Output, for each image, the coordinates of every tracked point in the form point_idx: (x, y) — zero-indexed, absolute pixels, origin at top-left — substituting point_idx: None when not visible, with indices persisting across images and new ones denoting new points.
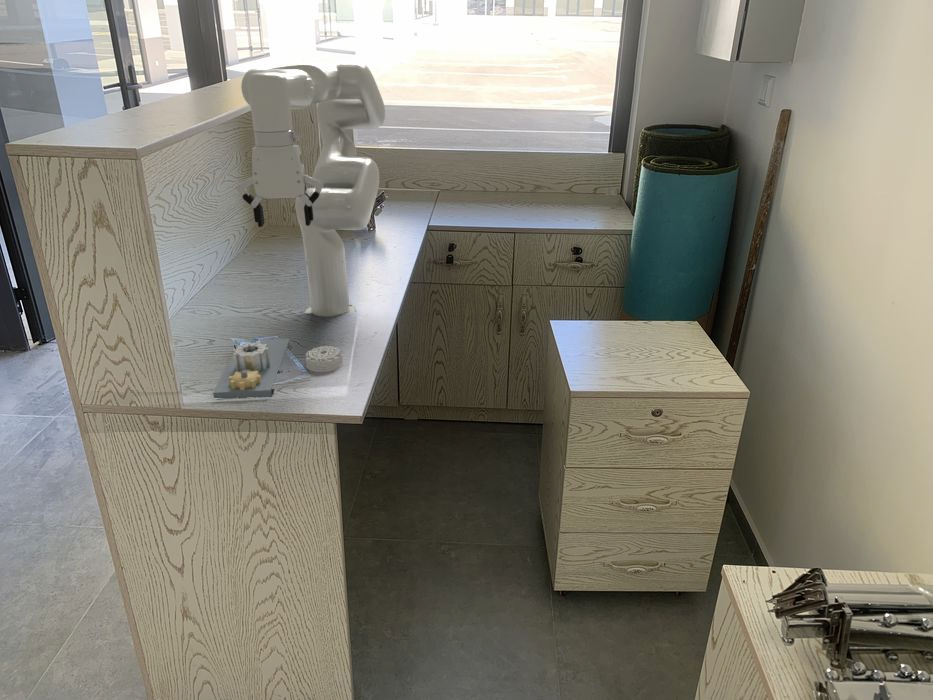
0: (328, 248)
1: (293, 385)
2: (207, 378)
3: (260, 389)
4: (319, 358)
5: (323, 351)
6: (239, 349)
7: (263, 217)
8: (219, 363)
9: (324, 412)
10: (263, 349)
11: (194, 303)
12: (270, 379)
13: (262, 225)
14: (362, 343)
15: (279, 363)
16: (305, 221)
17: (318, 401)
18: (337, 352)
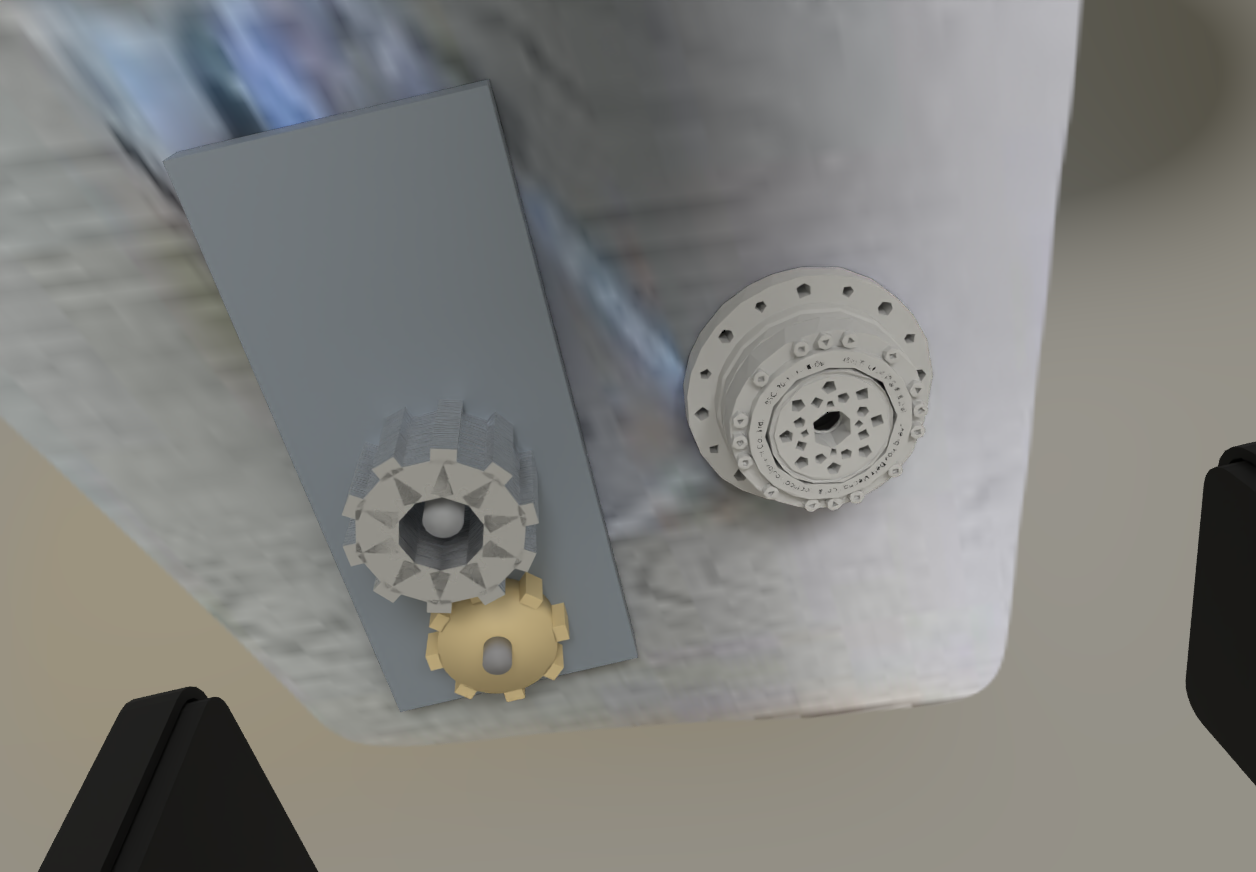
0: None
1: (692, 539)
2: (247, 539)
3: (591, 660)
4: (825, 496)
5: (824, 410)
6: (380, 547)
7: (183, 822)
8: (196, 386)
9: (876, 696)
10: (518, 530)
11: None
12: (597, 580)
13: (304, 860)
14: (956, 3)
15: (571, 428)
16: (1238, 763)
17: (836, 635)
18: (907, 418)
